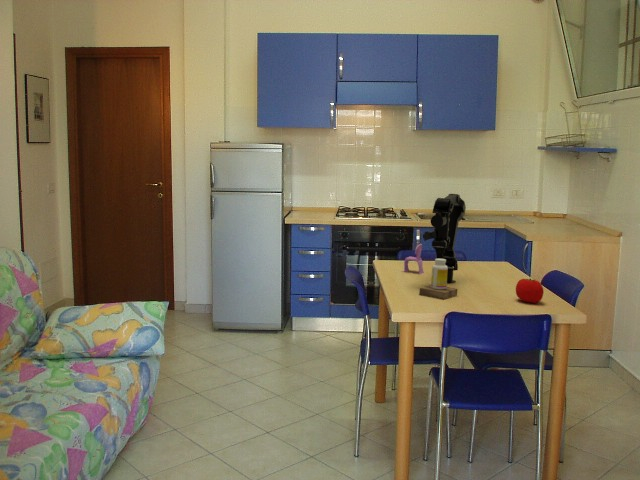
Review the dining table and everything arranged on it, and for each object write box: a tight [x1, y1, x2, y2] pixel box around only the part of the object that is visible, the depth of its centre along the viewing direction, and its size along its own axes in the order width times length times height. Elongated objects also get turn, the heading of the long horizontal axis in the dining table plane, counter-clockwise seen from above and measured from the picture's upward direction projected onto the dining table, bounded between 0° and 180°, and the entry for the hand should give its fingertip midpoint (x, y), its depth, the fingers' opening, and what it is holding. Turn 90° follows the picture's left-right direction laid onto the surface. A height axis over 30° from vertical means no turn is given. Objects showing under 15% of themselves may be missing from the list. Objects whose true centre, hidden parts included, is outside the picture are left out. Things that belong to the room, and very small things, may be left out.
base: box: [418, 284, 459, 301], centre depth 310 cm, size 12×12×3 cm
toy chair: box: [403, 243, 424, 275], centre depth 360 cm, size 8×9×15 cm
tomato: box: [515, 278, 544, 304], centre depth 306 cm, size 11×13×10 cm
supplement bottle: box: [430, 258, 448, 290], centre depth 309 cm, size 7×7×13 cm
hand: (439, 259), depth 325 cm, fingers open, 9 cm apart
